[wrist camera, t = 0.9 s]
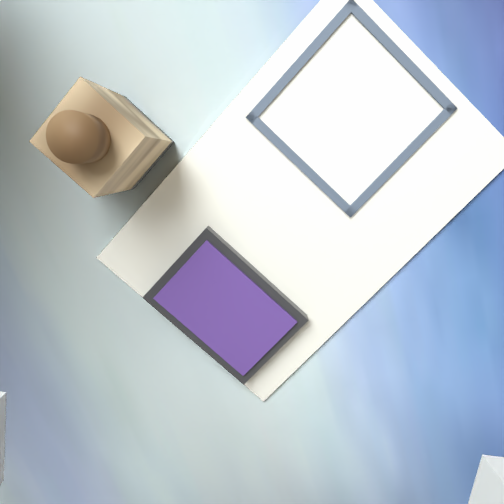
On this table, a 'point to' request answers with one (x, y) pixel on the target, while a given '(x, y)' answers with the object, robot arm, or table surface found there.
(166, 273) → the ink pad
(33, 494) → the table surface
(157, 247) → the sheet
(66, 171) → the stamp
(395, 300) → the table surface
